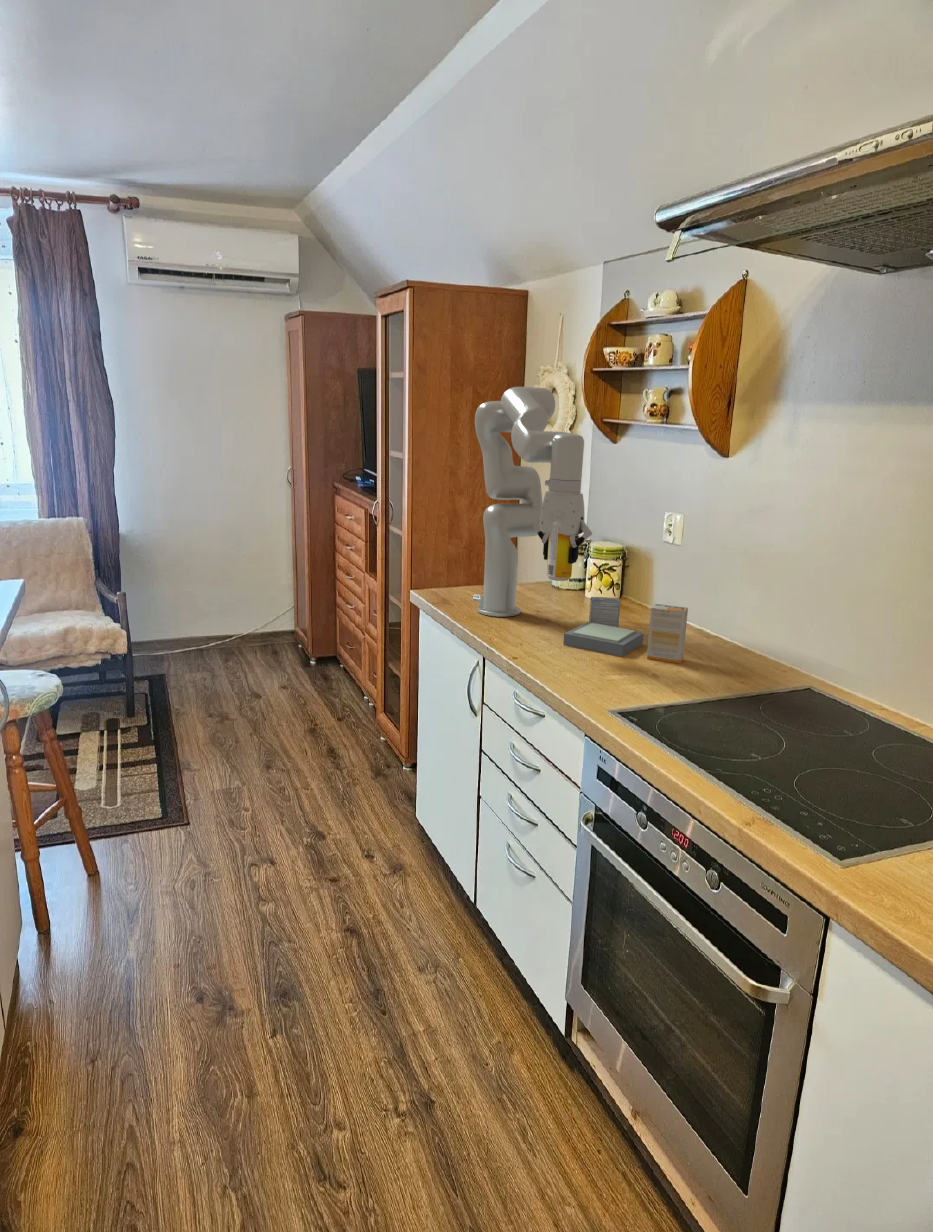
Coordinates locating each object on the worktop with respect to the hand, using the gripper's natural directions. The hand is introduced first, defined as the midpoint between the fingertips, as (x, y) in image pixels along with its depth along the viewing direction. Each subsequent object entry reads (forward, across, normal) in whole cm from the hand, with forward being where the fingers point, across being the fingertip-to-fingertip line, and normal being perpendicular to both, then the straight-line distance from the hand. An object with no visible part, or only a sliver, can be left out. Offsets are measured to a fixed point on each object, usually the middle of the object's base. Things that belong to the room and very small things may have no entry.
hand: (560, 560), depth 199 cm
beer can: (+5, 0, 0) cm, 5 cm away
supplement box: (+22, +26, +9) cm, 35 cm away
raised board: (+22, +8, +11) cm, 26 cm away
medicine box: (+23, +2, +25) cm, 34 cm away
